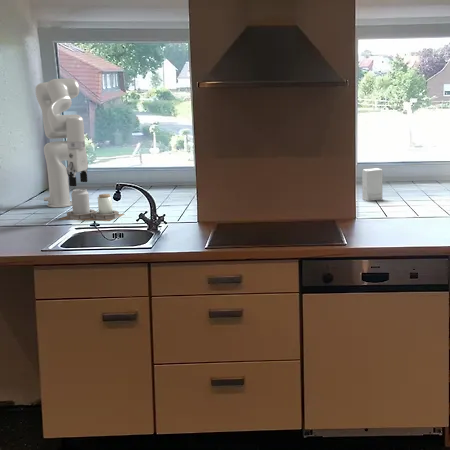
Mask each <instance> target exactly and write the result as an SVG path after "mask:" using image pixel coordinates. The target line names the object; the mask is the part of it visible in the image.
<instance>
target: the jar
mask: <svg viewBox="0 0 450 450" xmlns="http://www.w3.org/2000/svg"><path fill="white" fill-rule="evenodd" d="M112 197H113V196H112V195H111V194H110V193H102V194H98V197H97V205H98V206H97V208H98V211H99V214H112V213H113V211H114V210H113V200H112V199H113V198H112Z"/></svg>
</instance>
